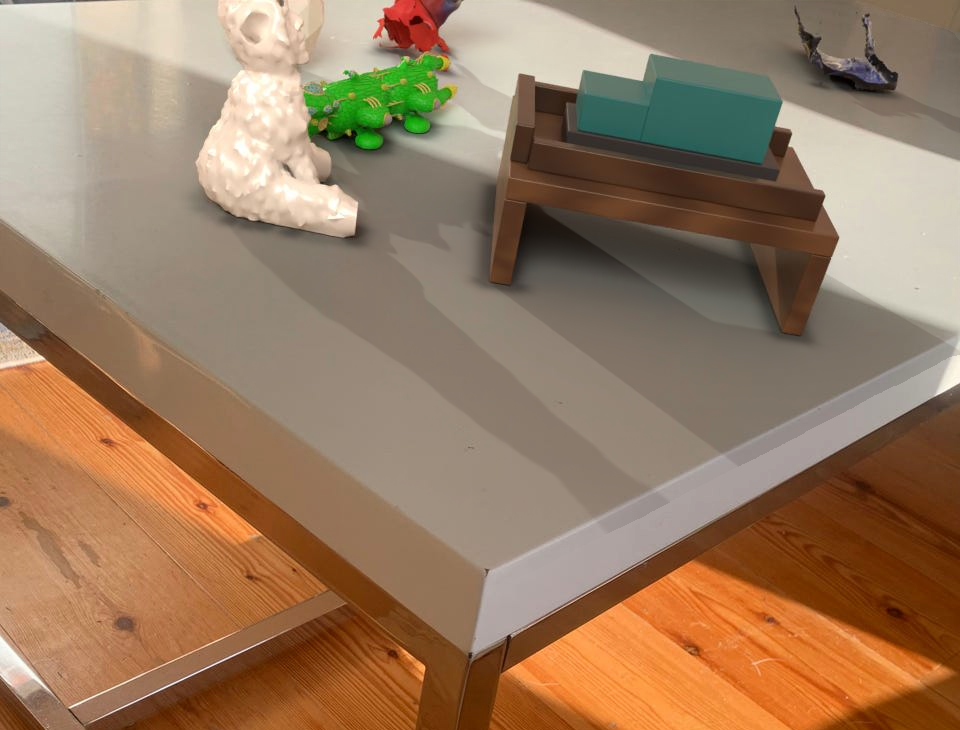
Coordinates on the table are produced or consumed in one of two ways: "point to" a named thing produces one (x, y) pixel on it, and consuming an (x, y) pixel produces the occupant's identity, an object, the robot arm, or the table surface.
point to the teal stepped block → (680, 116)
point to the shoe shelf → (663, 199)
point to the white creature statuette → (271, 131)
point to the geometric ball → (303, 3)
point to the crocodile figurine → (378, 100)
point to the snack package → (851, 61)
